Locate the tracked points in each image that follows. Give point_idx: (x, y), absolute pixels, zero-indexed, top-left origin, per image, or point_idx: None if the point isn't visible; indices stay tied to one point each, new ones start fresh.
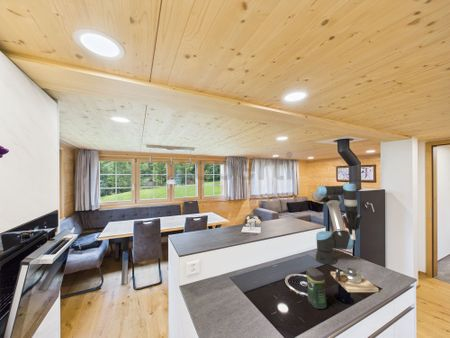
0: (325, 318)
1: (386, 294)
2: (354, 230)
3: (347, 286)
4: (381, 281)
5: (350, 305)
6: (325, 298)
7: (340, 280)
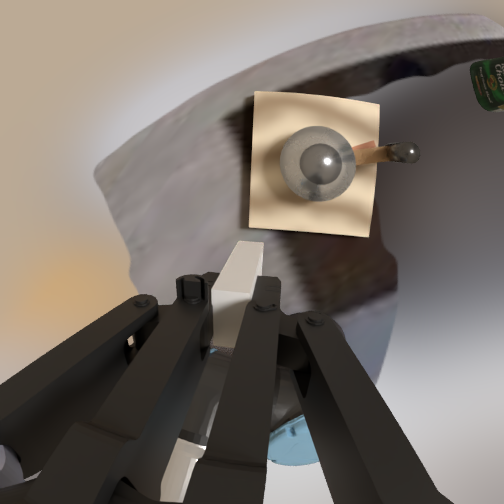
0: (479, 42)
1: (238, 81)
2: (218, 288)
3: (371, 118)
4: (186, 164)
5: (405, 51)
6: (484, 61)
7: (387, 144)
